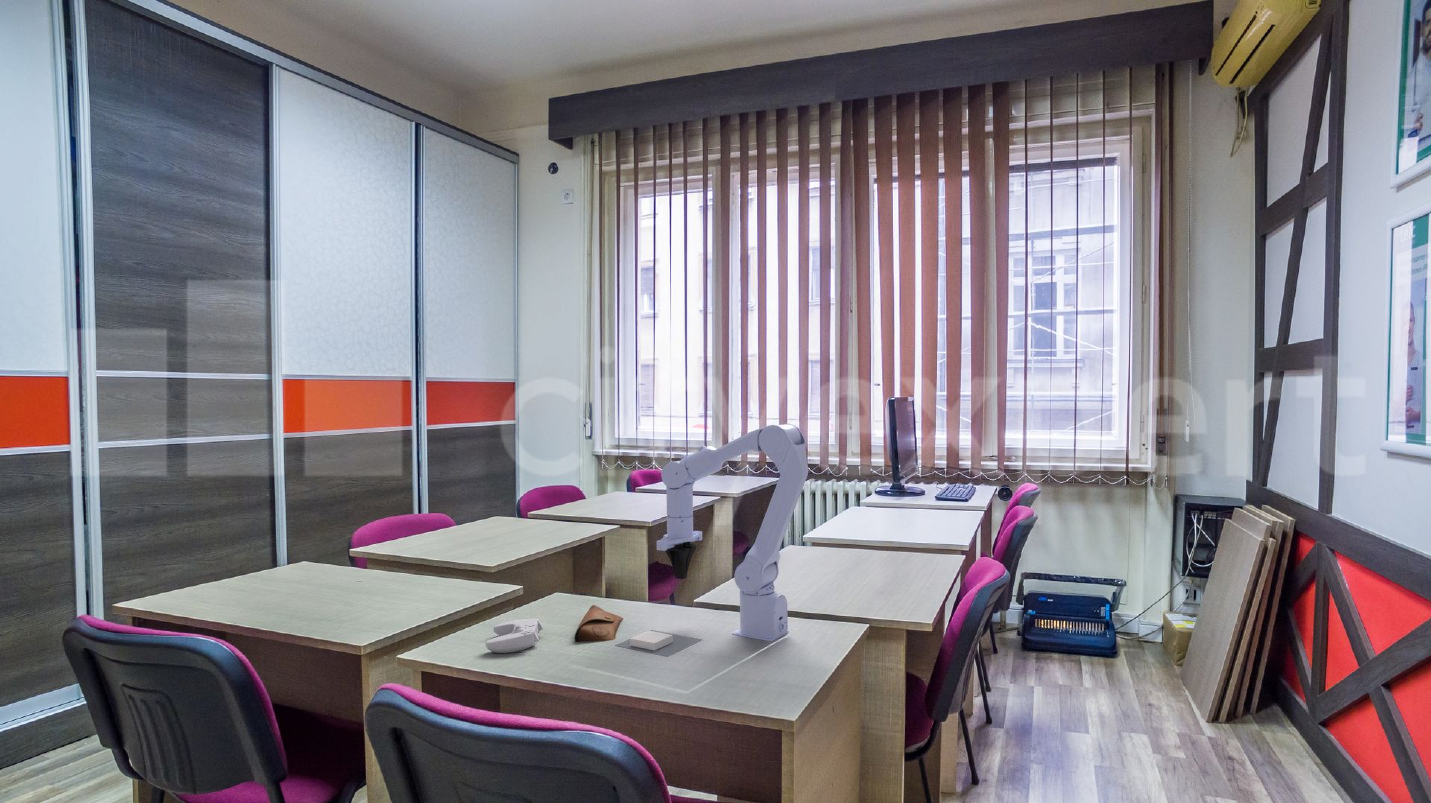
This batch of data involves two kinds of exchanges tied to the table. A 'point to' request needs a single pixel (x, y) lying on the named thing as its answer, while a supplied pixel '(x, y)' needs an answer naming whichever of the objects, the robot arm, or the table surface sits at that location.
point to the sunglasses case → (598, 626)
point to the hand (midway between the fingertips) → (680, 578)
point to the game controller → (515, 636)
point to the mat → (675, 646)
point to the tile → (651, 640)
